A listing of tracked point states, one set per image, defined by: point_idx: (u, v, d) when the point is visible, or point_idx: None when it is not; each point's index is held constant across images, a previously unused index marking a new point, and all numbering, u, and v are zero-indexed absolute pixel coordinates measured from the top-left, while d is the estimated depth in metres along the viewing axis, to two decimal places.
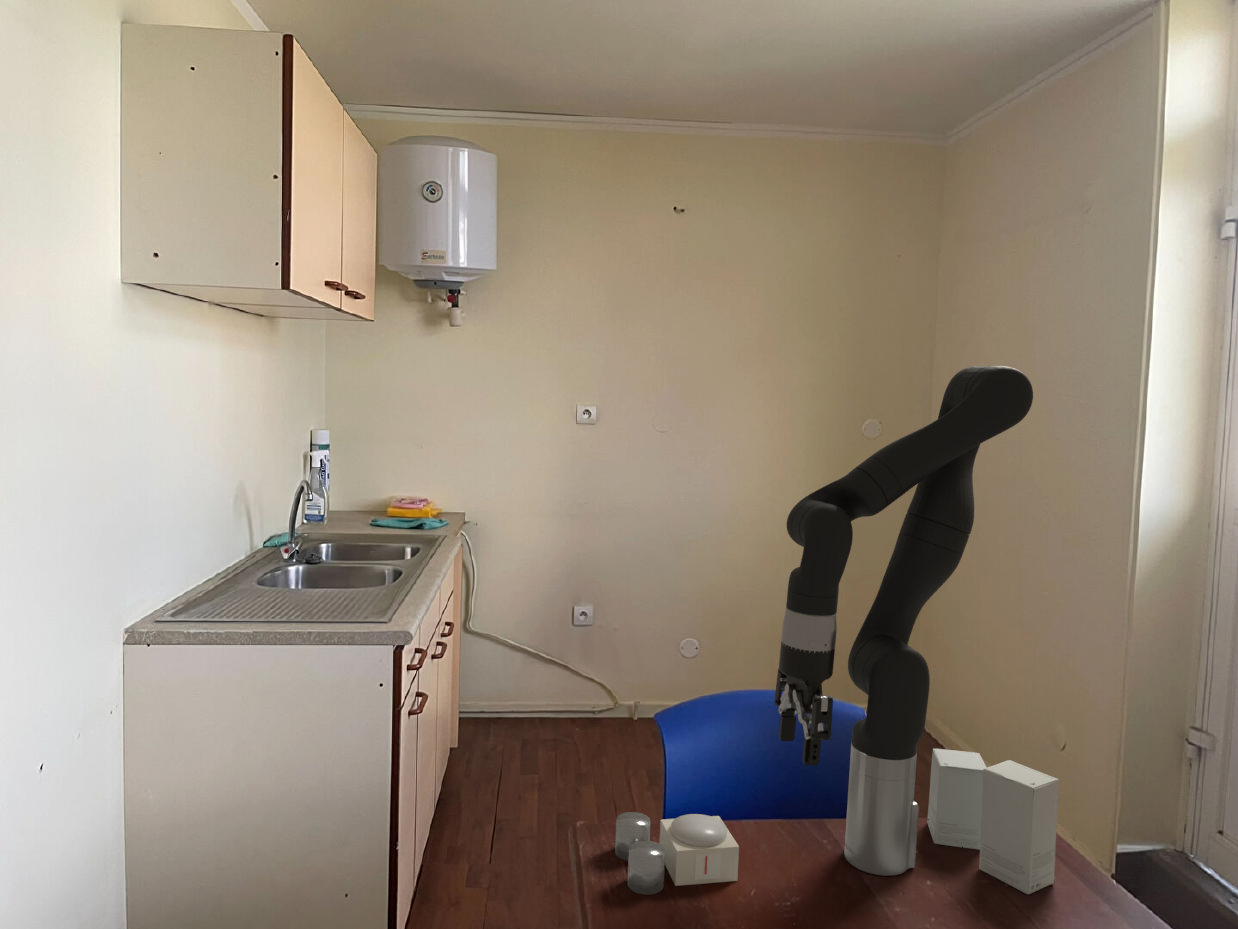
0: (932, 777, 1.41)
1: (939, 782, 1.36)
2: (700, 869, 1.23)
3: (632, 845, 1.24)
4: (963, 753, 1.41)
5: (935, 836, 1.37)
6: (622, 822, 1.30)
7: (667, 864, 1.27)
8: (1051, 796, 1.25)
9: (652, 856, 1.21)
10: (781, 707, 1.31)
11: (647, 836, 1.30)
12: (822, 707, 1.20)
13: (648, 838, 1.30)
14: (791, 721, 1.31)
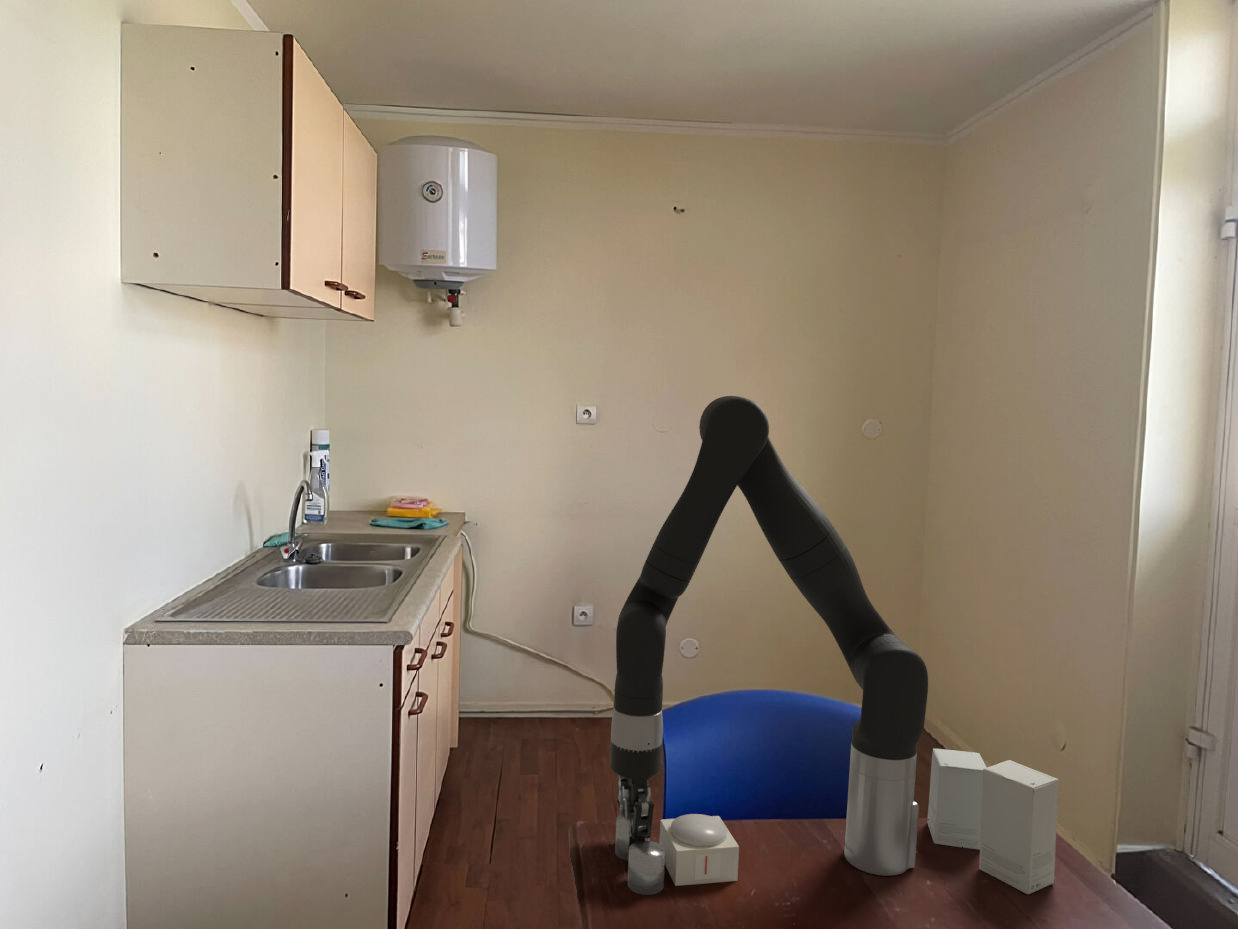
0: (932, 777, 1.41)
1: (939, 782, 1.36)
2: (700, 869, 1.23)
3: (632, 845, 1.24)
4: (963, 753, 1.41)
5: (935, 836, 1.37)
6: (621, 821, 1.30)
7: (667, 864, 1.27)
8: (1051, 796, 1.25)
9: (652, 856, 1.21)
10: (620, 807, 1.34)
11: None
12: (642, 813, 1.24)
13: (648, 838, 1.30)
14: None
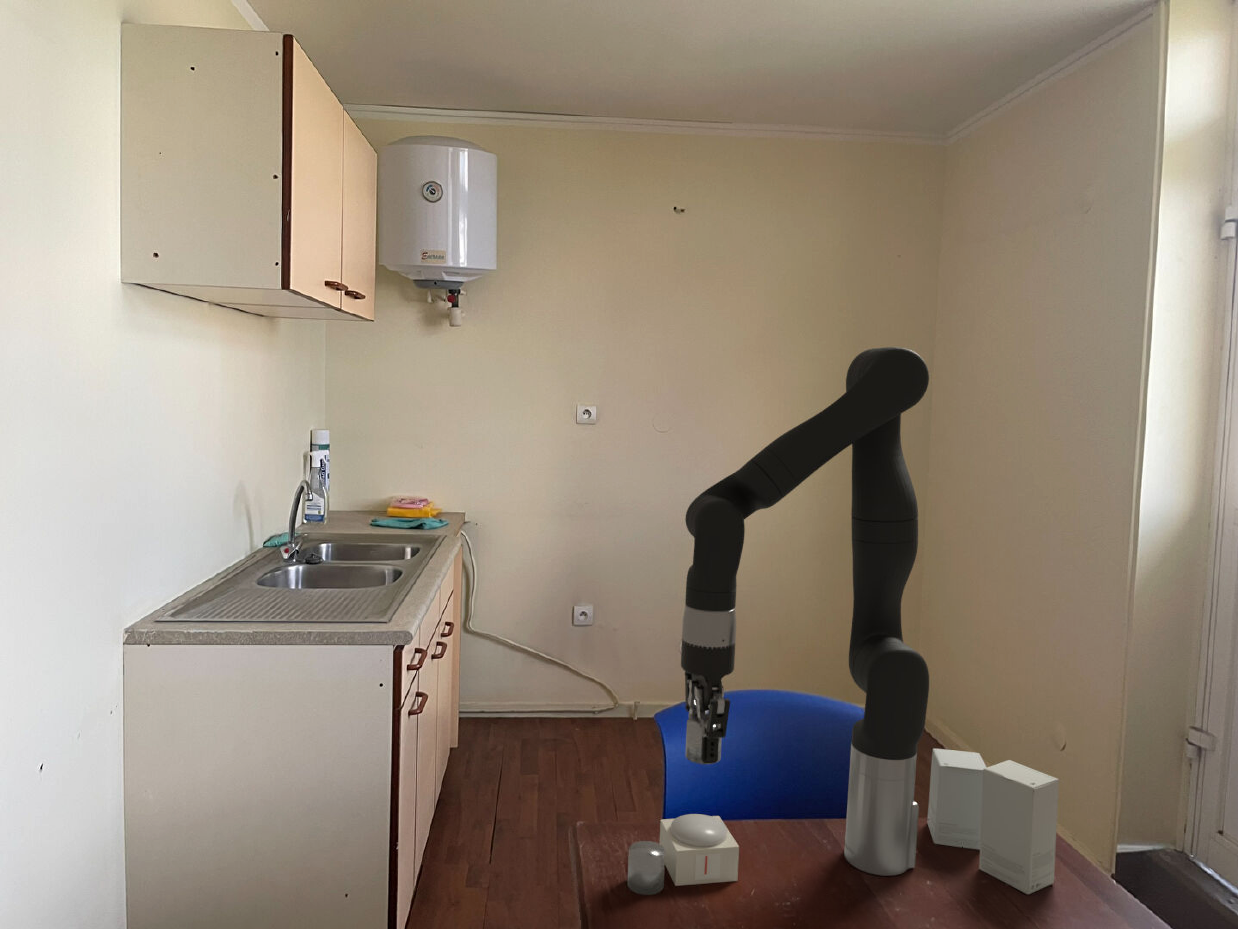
0: (932, 777, 1.41)
1: (939, 782, 1.36)
2: (700, 869, 1.23)
3: (632, 845, 1.24)
4: (963, 753, 1.41)
5: (935, 836, 1.37)
6: (693, 724, 1.26)
7: (667, 864, 1.27)
8: (1051, 796, 1.25)
9: (652, 856, 1.21)
10: (690, 712, 1.29)
11: (719, 738, 1.25)
12: (718, 710, 1.20)
13: (720, 741, 1.26)
14: None
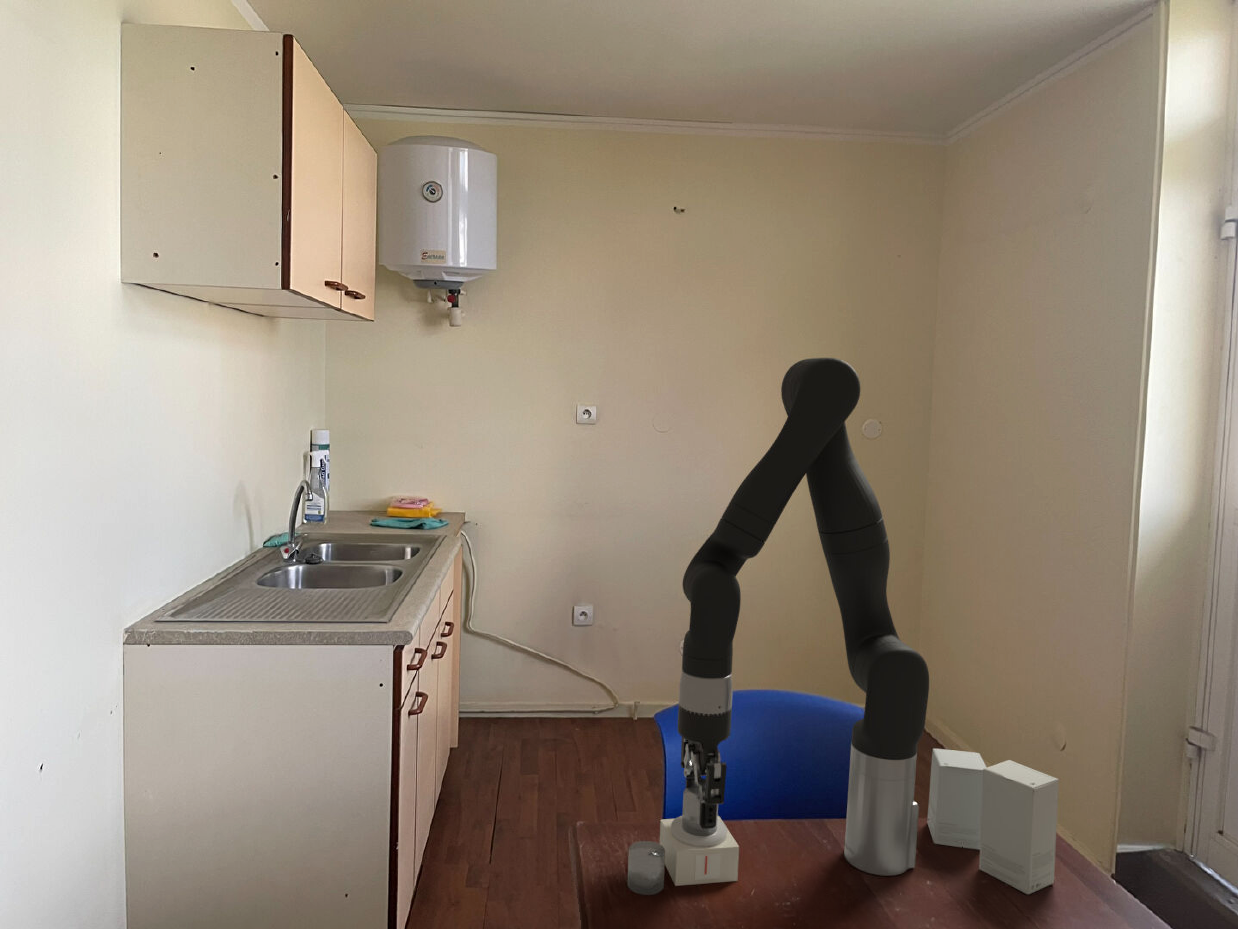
0: (932, 777, 1.41)
1: (939, 782, 1.36)
2: (700, 869, 1.23)
3: (632, 845, 1.24)
4: (963, 753, 1.41)
5: (935, 836, 1.37)
6: (689, 795, 1.27)
7: (667, 864, 1.27)
8: (1050, 796, 1.25)
9: (652, 856, 1.21)
10: (685, 770, 1.31)
11: None
12: (715, 774, 1.20)
13: (717, 812, 1.27)
14: None
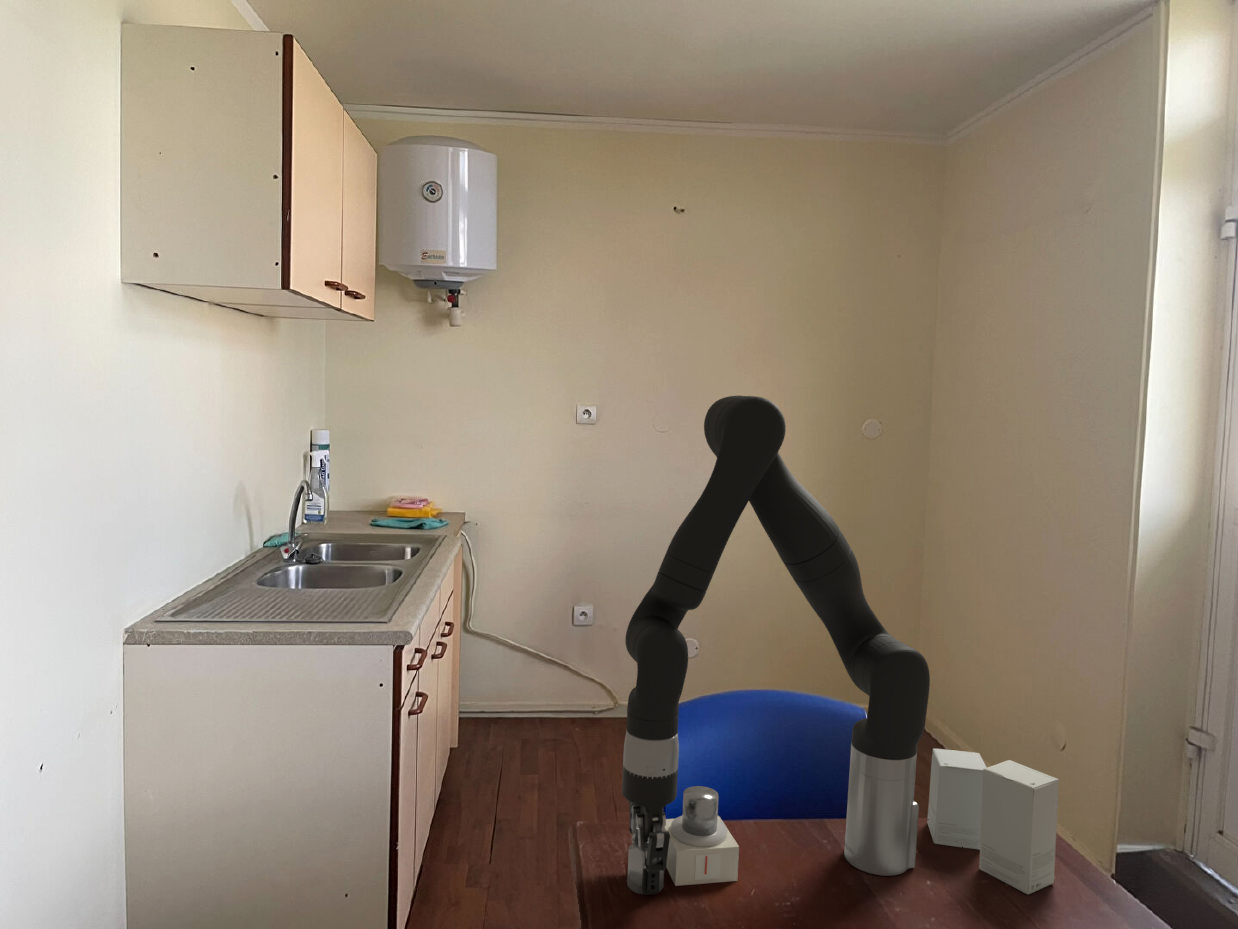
0: (932, 777, 1.41)
1: (939, 782, 1.36)
2: (700, 869, 1.23)
3: (632, 845, 1.24)
4: (963, 753, 1.41)
5: (935, 836, 1.37)
6: (689, 795, 1.27)
7: (667, 864, 1.27)
8: (1051, 796, 1.25)
9: None
10: (633, 836, 1.25)
11: (716, 810, 1.26)
12: (657, 844, 1.16)
13: (717, 812, 1.27)
14: None
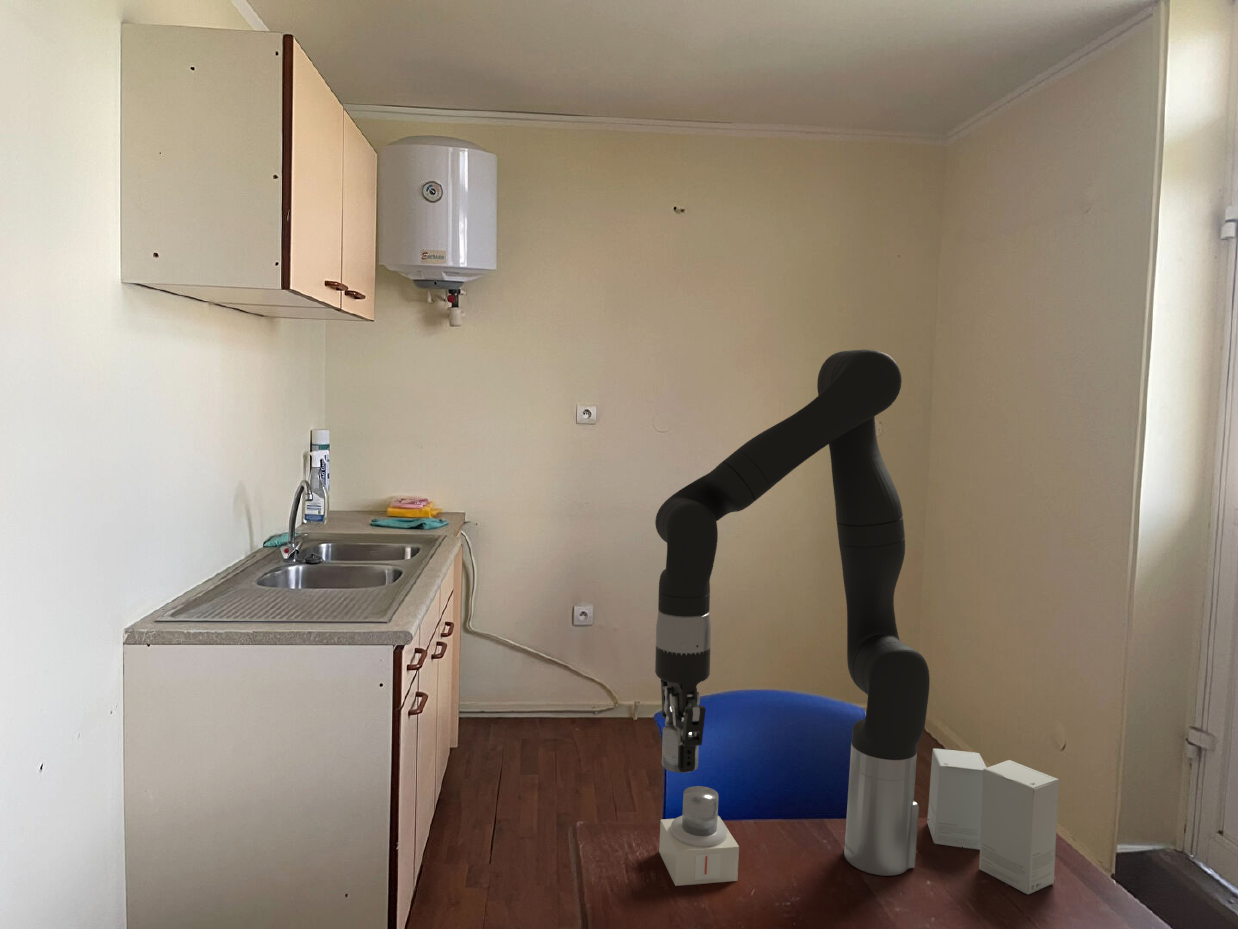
0: (932, 777, 1.41)
1: (939, 782, 1.36)
2: (700, 869, 1.23)
3: (665, 727, 1.25)
4: (963, 753, 1.41)
5: (935, 836, 1.37)
6: (689, 795, 1.27)
7: (667, 864, 1.27)
8: (1051, 796, 1.25)
9: None
10: (667, 719, 1.26)
11: (716, 810, 1.26)
12: (693, 718, 1.17)
13: (717, 812, 1.27)
14: None
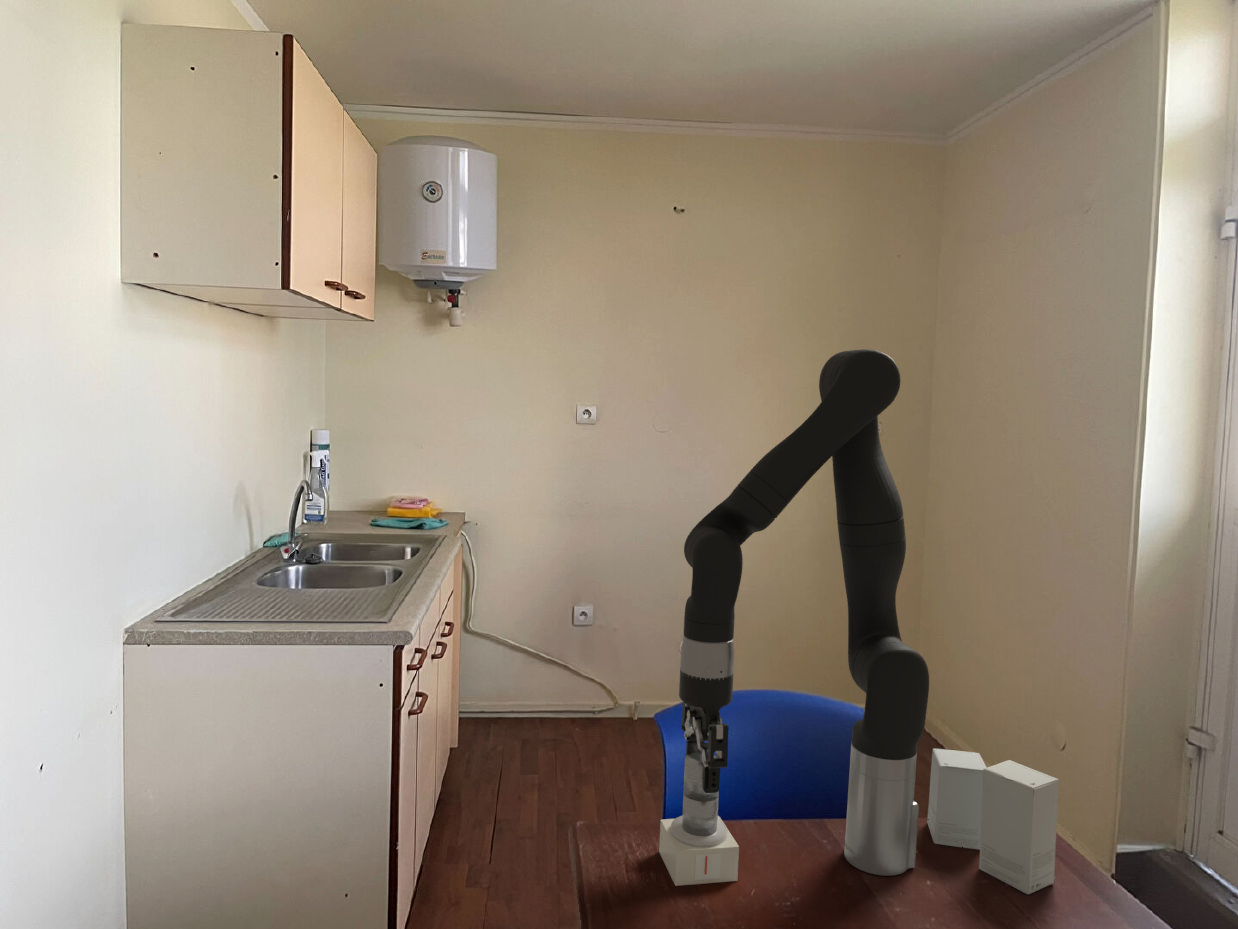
0: (932, 777, 1.41)
1: (939, 782, 1.36)
2: (700, 869, 1.23)
3: (688, 756, 1.28)
4: (963, 753, 1.41)
5: (935, 836, 1.37)
6: None
7: (667, 864, 1.27)
8: (1051, 796, 1.25)
9: None
10: (686, 733, 1.31)
11: (716, 810, 1.26)
12: (717, 735, 1.20)
13: (717, 812, 1.27)
14: (697, 746, 1.31)
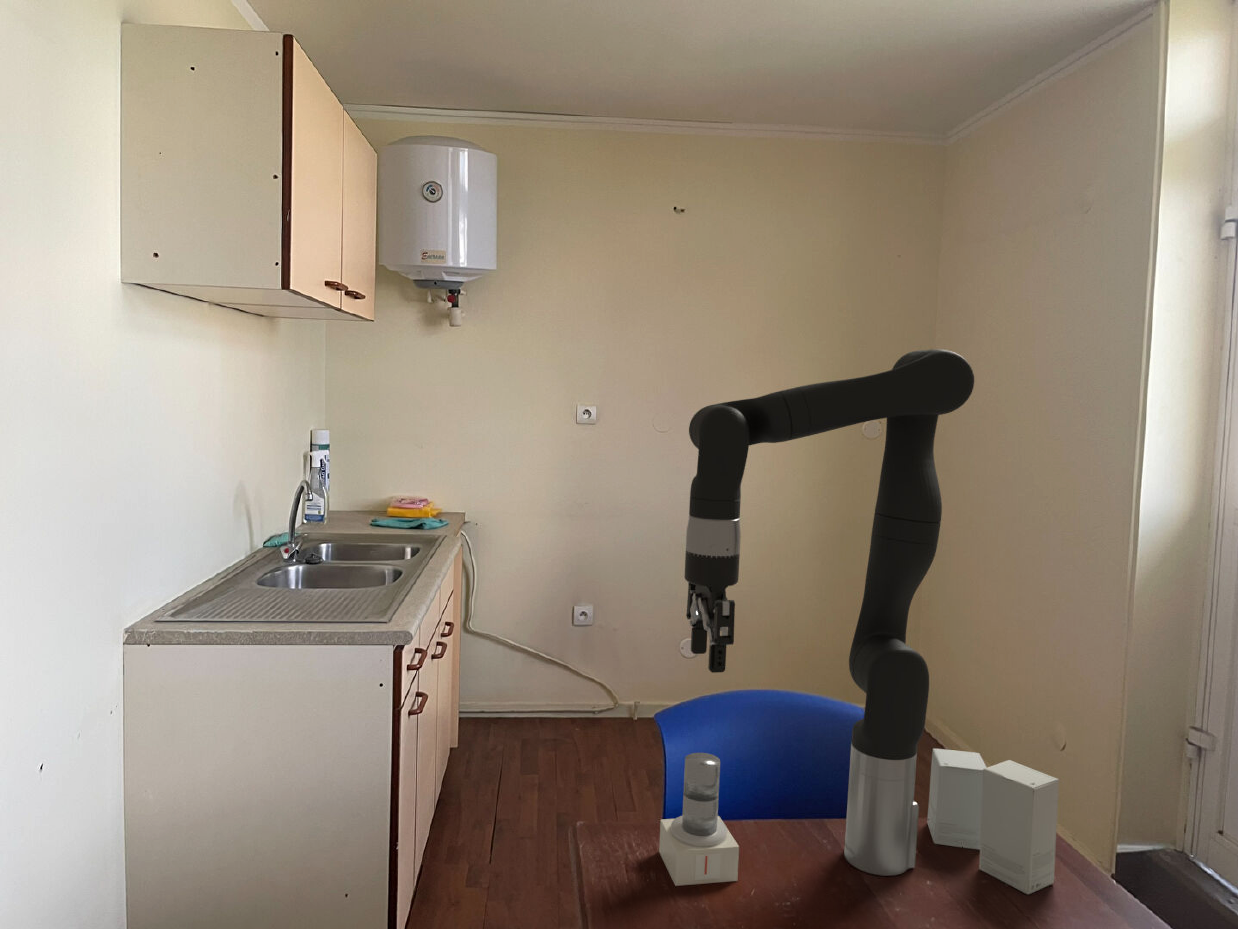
0: (932, 777, 1.41)
1: (939, 782, 1.36)
2: (700, 869, 1.23)
3: (688, 756, 1.28)
4: (963, 753, 1.41)
5: (935, 836, 1.37)
6: None
7: (667, 864, 1.27)
8: (1051, 796, 1.25)
9: (708, 764, 1.26)
10: (691, 619, 1.29)
11: (716, 810, 1.26)
12: (723, 611, 1.18)
13: (717, 812, 1.27)
14: (702, 633, 1.29)
